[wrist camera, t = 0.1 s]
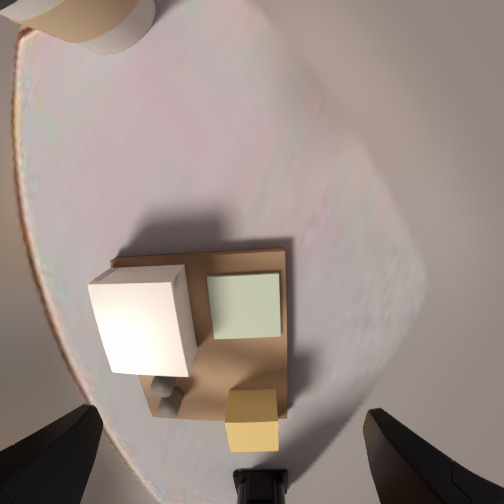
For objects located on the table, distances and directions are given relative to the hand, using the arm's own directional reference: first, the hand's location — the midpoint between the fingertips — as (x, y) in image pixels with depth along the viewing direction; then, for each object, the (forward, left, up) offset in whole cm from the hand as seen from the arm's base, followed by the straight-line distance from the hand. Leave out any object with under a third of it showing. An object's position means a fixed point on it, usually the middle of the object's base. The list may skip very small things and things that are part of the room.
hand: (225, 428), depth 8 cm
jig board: (-6, +3, -14) cm, 16 cm away
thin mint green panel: (-2, 0, -14) cm, 15 cm away
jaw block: (-12, 0, -14) cm, 18 cm away
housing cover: (-2, +7, -13) cm, 15 cm away
